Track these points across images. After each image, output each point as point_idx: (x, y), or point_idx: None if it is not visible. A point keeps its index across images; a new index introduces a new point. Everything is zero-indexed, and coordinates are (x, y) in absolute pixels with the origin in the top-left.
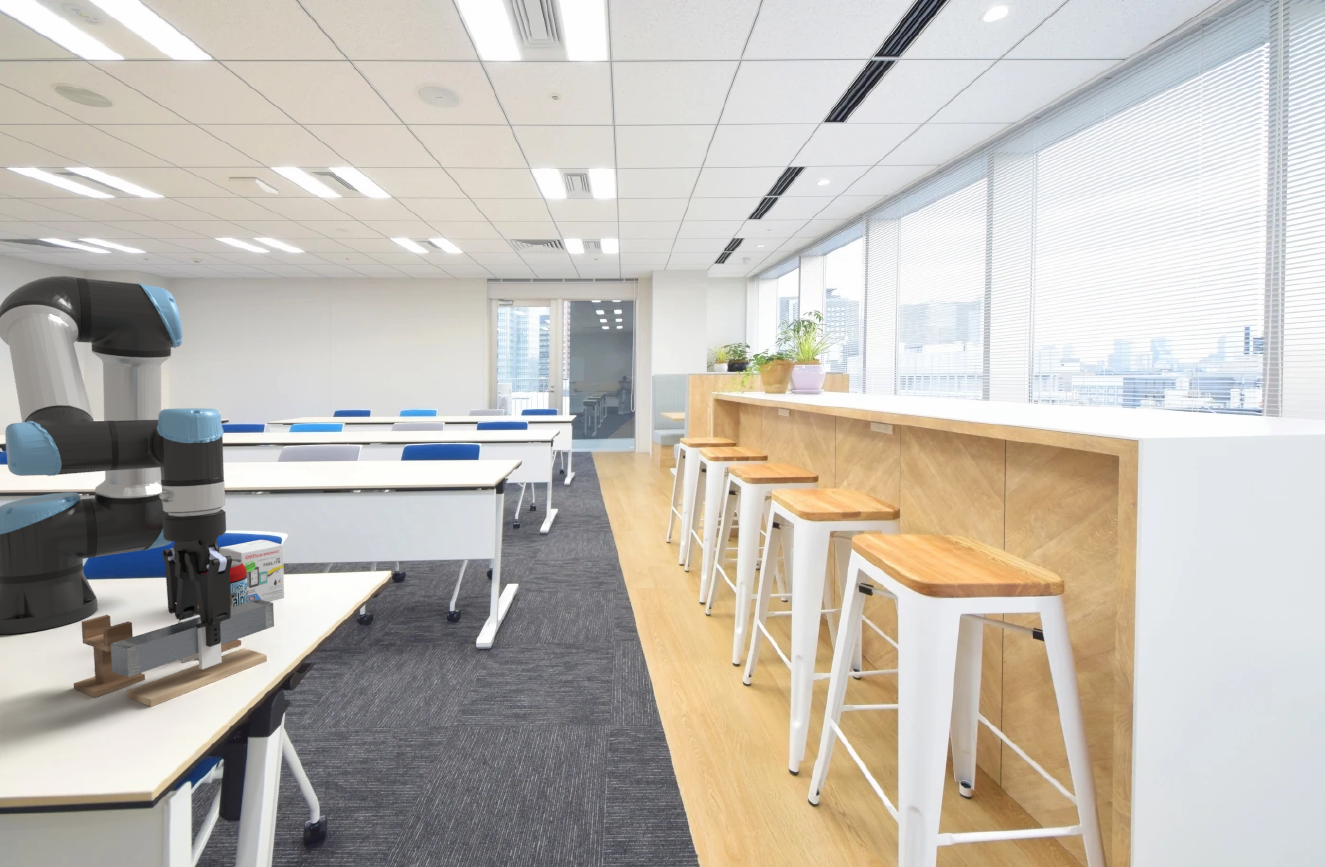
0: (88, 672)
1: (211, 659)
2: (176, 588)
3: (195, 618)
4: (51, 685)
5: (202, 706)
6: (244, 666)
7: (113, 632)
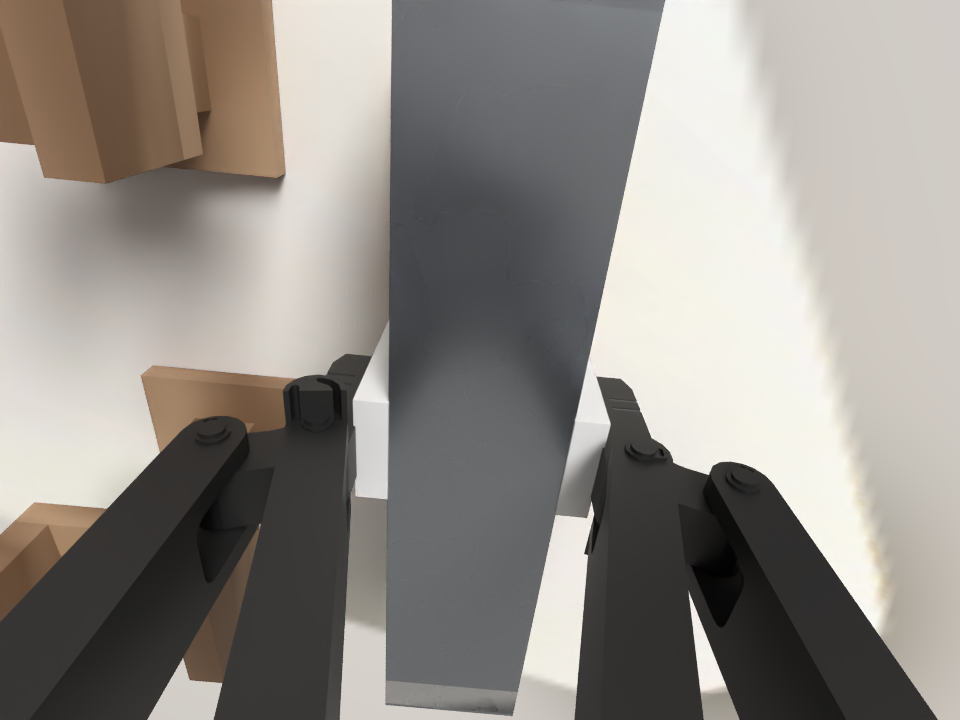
0: (56, 404)
1: None
2: (162, 650)
3: (398, 438)
4: (91, 485)
5: (691, 432)
6: None
7: (230, 643)
